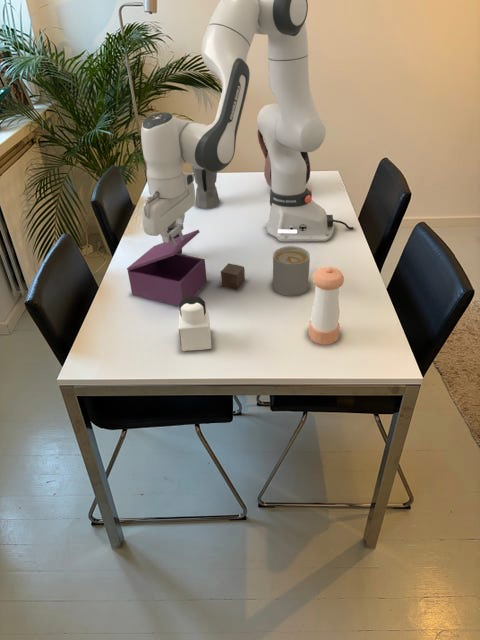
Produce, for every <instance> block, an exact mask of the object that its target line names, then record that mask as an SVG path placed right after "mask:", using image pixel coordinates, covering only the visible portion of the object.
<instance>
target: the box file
mask: <svg viewBox="0 0 480 640" xmlns="http://www.w3.org/2000/svg"><path fill="white" fill-rule="evenodd" d="M206 268H207V265H206V259H205V258H203V257H198V256H192V255H187V254H183V253H182V254H178V253H176V254H175V255H173V256H170V257H168V258H165V259H162V260H159V261H156V262H153V263H150V264H147V265H144V266H141V267H138V268H135V269H133V270H130V271H128V270H127V275H128V280H129V285H130V291H131V295H132V296H134V297H138V298H142V299H146V300H150V301H155V302H159V303H163V304H167V305H171V306H175V307H179V303H180V302H181V300H183V299H184V298H186V297H190V296H197V294H198V293H199V292H200V291H201V290H202V289H203V288H204V286H206V285H207V284H208V277H207V269H206Z"/></svg>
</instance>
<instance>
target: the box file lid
mask: <svg viewBox="0 0 480 640" xmlns="http://www.w3.org/2000/svg"><path fill="white" fill-rule="evenodd" d="M181 230H182V229H181V227H180V226H177V227H176V228H174V229H173V230H172V231H171V232H170V233H168V234H171V240H170V241H169V242H168V243H166V242H161V243H158V244H155V245H153V246H152V247H151V248H149V249H148V250H147V251H146V252H144V254H142V255H141V256H140V257H138V258H137V259H136V260H135V261H134V262H133V263H131V264H130V265H129V266H128V267H126V270H127V272H128V271H130V270H133V269H135V268H138V267H141V266H144V265H147V264H150V263H153V262H156V261H159V260H162V259H165V258H168V257H170V256H173V255H175V254H176V253H177V252H178V251H179V250H180V249H182V250H183V248H184V247H185V246H186V245H187V244H189V243H190V242H191V241H192V240H193V238H195V237H196V236H197V235H199V233H200V230H199V229H197V230H193V231H191V232H188V233H186V234H184V233H183V232H181ZM182 231H183V230H182ZM177 234H179V236H180V237H177V238H173V237H175V236H176V235H177Z"/></svg>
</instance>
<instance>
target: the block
mask: <svg viewBox="0 0 480 640" xmlns="http://www.w3.org/2000/svg"><path fill="white" fill-rule="evenodd" d="M245 277H246V275H245V266H244V265H239V264H234V263H227V264H226V265H225V266H224V267H223V268H222V270H221V271H220V283H221V288H225V289H230V290H234V291H238V290H239V289H240V288H241V287H242V285H244V283H245V281H246V278H245Z"/></svg>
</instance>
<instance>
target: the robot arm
mask: <svg viewBox="0 0 480 640" xmlns="http://www.w3.org/2000/svg"><path fill="white" fill-rule="evenodd" d="M308 3H309V2H308V0H219V2H218V3H217V5H216V7H215V9H214V11H213V14H212V15H211V17H210V20H209V22H208V24H207V28H206V30H205V32H204V35H203V38H202V41H201V42H202V43H201V47H200V56H201V59H202V61H203V63H204V66H205V67H206V68H207V70H208V71H209V72H210V73H211V74H212V75H213V76H215V77H216V78H217V79H218V80H220V82H221V89H222V90H221V94H220V98H219V103H218V107H217V109H216V110H217V111H216V115H215V118H214V121H213V122H212V123H211V124H209V125H208V124H204V123H199V122H197V121H192V120H188V119H181V118H178V117H176V116H174V115H173V114H172V113H170V112H166V111H165V112H163V111H162V112H161V111H160V112H157V113H152V114H150V115H148V116H146V118H144V120H143V121H142V123H141V128H140V129H141V130H140V140H141V149H142V154H143V155H142V156H143V159H144V162H145V164H146V174H145V175H146V180H147V186H148V192H149V195H150V196H148V197H146V198H145V202H144V204H143V205H142V209H141V218H142V227H143V232H144V233H145V234H146V235H147V236H152V237H158V236H159V235H160V236H161V240H162V243H164V242H166V243H168V242H169V241H170V240H171V234H168V233H167V231H168V227H169V226H170V225H171V224H172V223H173V222H175V221H176V224H175V228H176V227H177V226H180V227H181V229H182V230H181V231H183V230H184V229H185V228H184V222H185V217H186V214H185V213H187V212H188V211H189V210H190V209H192V208H193V207H194V206H195V201H196V189H195V183H194V182H195V178H194V173H193V172H189V171H184V169H183V165H184V164H190V165H192V164H193V165H197V166H200V167H202V168H204V169H206V170H209V171H211V172H217V173H218V172H221V171H223V170H224V169H226V167H228V166H229V165H230V164H231V162H232V161H233V158H234V156H235V153H236V145H237V144H236V142H237V135H238V130H239V126H240V121H241V118H242V114H243V110H244V106H245V102H246V97H247V94H248V89H249V82H250V76H251V75H250V73H251V72H250V68H249V65H248V64H247V60H248V54H249V51H250V49H251V46H252V43H253V40H254V38H255V35H264V36H265V35H267V63H268V64H267V65H268V84H269V85H268V86H269V89H270V91H271V93H272V95H273V96H274V98H275V99H276V102H277V103H268V104H266V105H264V106H262V108H261V109H260V110H259V113H258V115H257V117H256V126H257V130H258V129H259V131H260V132H261V134H262V136H263V140H264V143H265V145H266V148H267V150H268V154H269V158H270V163H271V188H270V189H269V206H270V211H269V217H268V222H267V225H266V231H267V233H268V234H269V235H271V236H273V237H275V238H276V239H277V240H278V241H280V242H283V243H286V242H287V243H288V242H290V243H291V242H292V243H293V242H295V243H298V242H299V243H300V242H301V243H302V242H303V243H304V242H307V243H308V242H313V243H314V242H316V243H317V242H319V243H320V242H322V243H323V242H324V243H325V242H327V241H329V240H330V239H331V238H332V237H333V234H334V231H335V230H334V229H335V227H334V223H337V224H341V225H344V227H345V228H346V229H347V230H354V227H353V226H349V225H348V224H347V223H346V222H344V221H341V220H337V219H334V216H333V214H327V211H326V210H325V208H323V206H320V204H318V203H316V201H314V200H313V192H312V191H313V189H312V188H310V189H308V188H307V184H306V172H307V166H306V163H305V161H304V159H303V157H302V156H301V153H300V151H301V152H308V153H313V152H315V151H317V150H318V149H320V147H321V146H322V144H323V143H324V140H325V138H326V132H327V131H326V130H327V129H326V125H325V123H324V121H323V120H322V119H321V117H320V115H319V114H318V111H317V109H316V107H315V103H314V100H313V97H312V92H311V87H310V75H309V42H308V41H309V40H308V32H307V26H306V19H307V16H308V11H309V4H308Z"/></svg>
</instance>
